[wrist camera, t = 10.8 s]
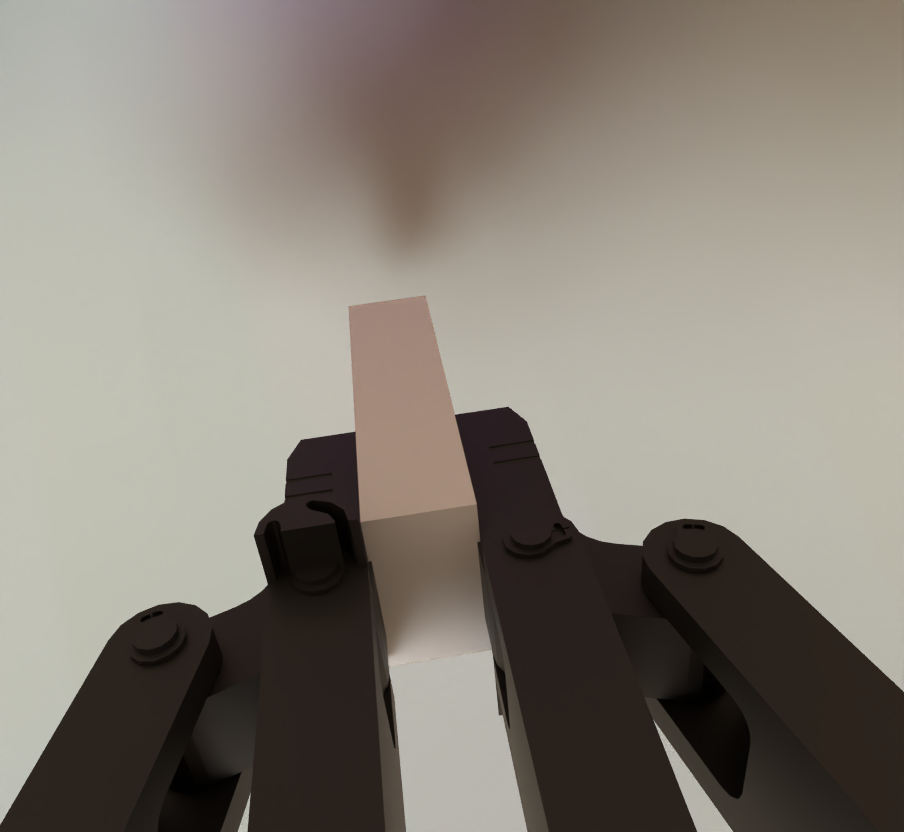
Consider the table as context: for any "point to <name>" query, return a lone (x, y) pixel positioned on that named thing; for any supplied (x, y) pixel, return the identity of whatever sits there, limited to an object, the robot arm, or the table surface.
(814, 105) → the table surface
